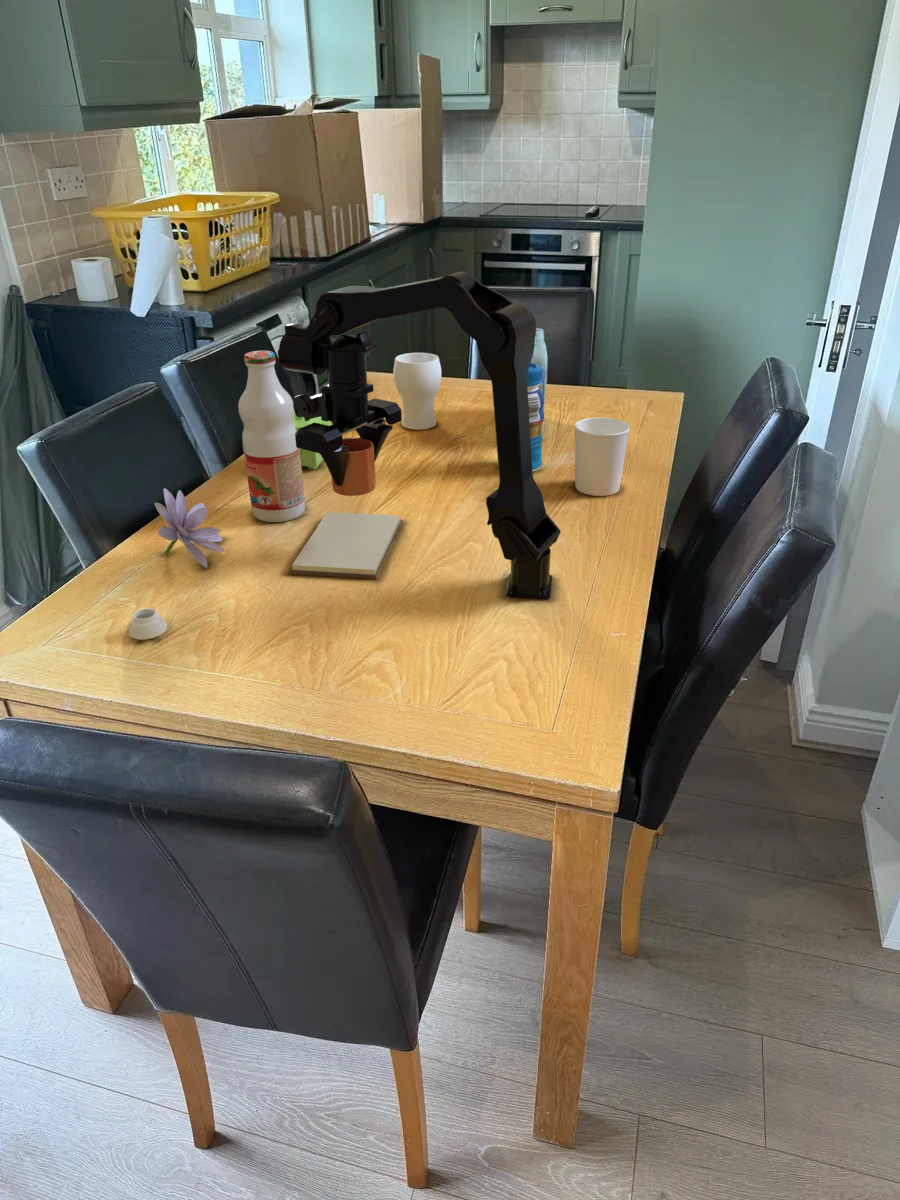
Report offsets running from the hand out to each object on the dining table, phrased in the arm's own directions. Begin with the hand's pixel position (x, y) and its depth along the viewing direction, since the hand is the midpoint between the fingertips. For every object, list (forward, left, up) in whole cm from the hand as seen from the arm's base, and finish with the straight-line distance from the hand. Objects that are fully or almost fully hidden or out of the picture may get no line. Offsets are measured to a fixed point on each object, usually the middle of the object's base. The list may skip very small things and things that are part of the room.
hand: (353, 478), depth 131 cm
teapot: (+37, +20, -12) cm, 44 cm away
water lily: (-6, +25, -12) cm, 29 cm away
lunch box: (+64, -21, -12) cm, 69 cm away
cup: (+63, +1, -12) cm, 64 cm away
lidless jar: (-29, +22, -12) cm, 39 cm away
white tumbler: (+30, -39, -12) cm, 50 cm away
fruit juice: (+12, +17, -12) cm, 25 cm away
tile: (0, +1, -12) cm, 12 cm away
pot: (0, 0, -2) cm, 2 cm away
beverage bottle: (+39, -24, -12) cm, 47 cm away
